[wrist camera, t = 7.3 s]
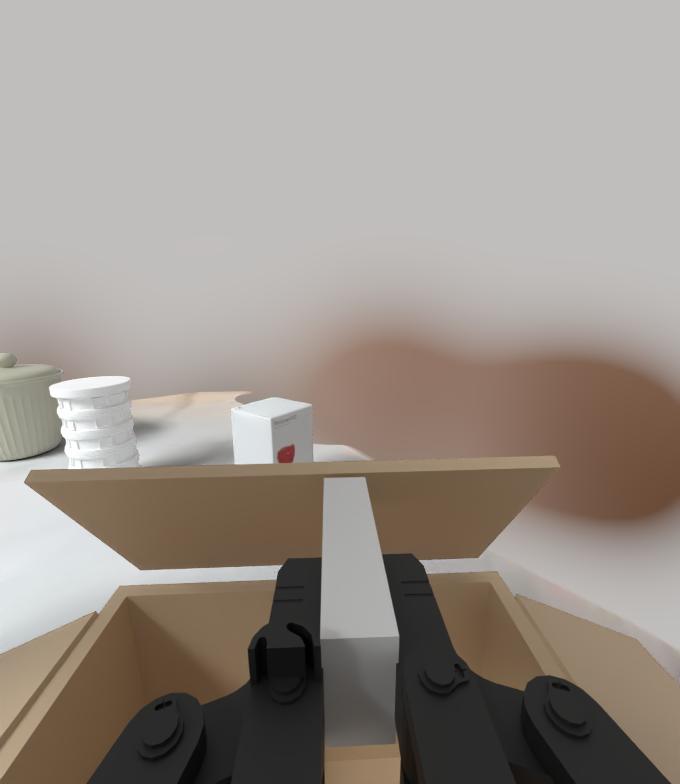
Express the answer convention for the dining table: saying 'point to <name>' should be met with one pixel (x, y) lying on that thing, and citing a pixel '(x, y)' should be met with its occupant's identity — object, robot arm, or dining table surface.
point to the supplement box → (272, 432)
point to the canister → (27, 409)
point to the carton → (231, 671)
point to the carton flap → (291, 507)
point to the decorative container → (97, 422)
